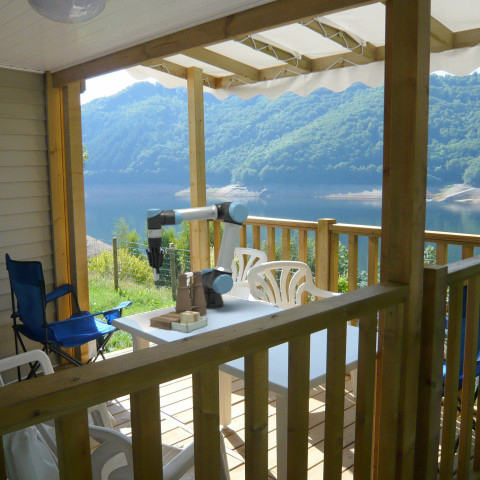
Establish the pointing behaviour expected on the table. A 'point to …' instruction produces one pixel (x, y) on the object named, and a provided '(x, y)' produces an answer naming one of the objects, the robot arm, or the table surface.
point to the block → (189, 317)
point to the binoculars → (191, 294)
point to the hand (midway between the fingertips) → (156, 279)
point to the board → (165, 320)
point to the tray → (189, 325)
